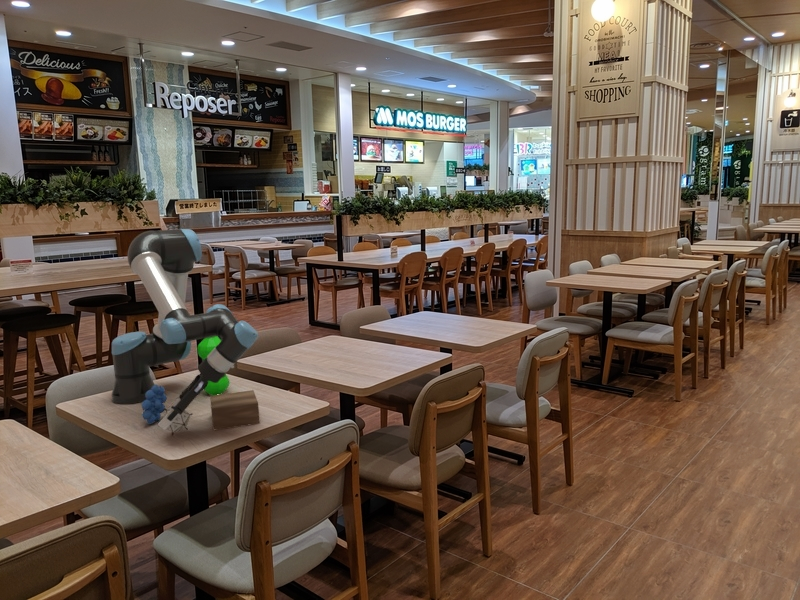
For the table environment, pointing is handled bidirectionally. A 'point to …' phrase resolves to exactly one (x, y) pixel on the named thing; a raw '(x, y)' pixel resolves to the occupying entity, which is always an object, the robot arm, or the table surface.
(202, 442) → the table surface
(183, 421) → the white wireframe polyhedron
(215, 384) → the plastic bottle
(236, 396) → the walnut block
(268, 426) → the table surface
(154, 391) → the grapes
